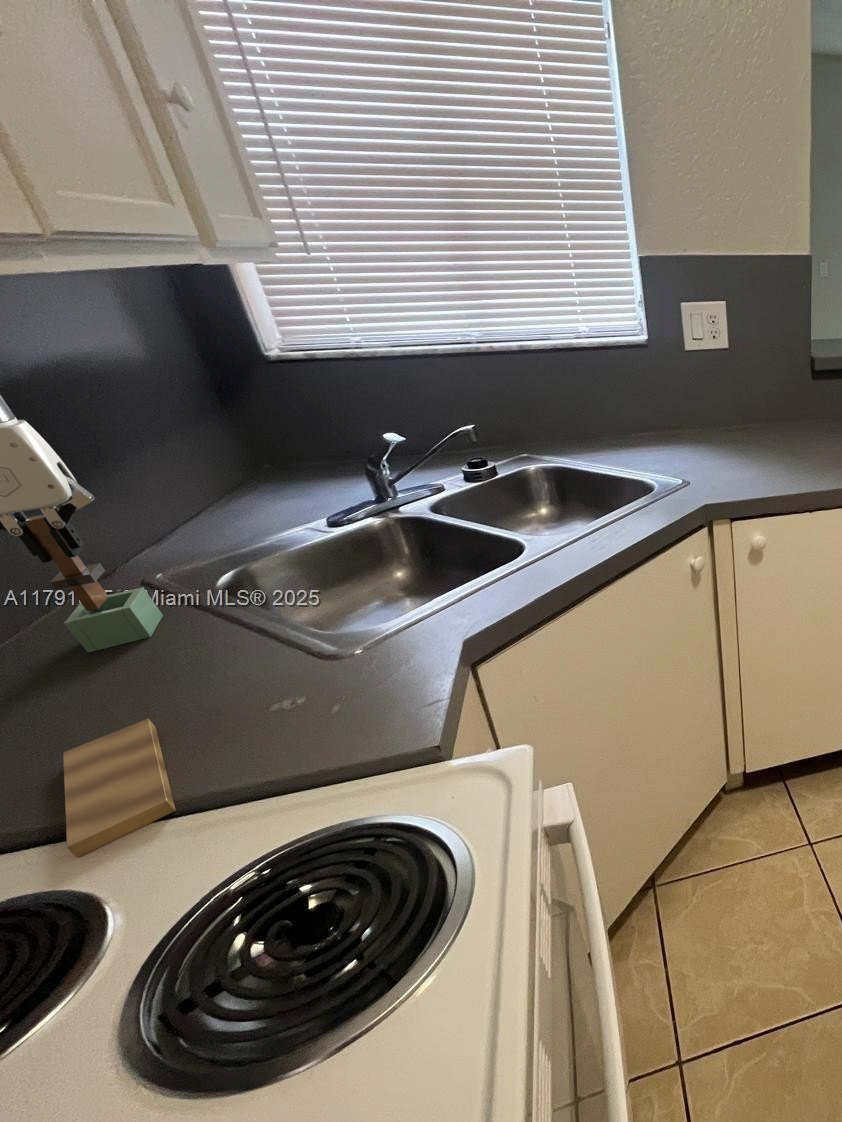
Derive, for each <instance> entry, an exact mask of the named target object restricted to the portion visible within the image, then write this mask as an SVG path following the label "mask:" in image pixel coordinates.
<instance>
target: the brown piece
mask: <svg viewBox="0 0 842 1122" xmlns="http://www.w3.org/2000/svg"><path fill="white" fill-rule="evenodd" d="M27 518H28V519H27V520H26V521H24V522H25V523H26V525H27V526H28V528H29V529H30V530H31V532H32V533H33V534H34V535H35V537H36V538H37V539H38V541H39V542H40V544H41V545H42V546H43V548H44V549H45V550H46V552H47V553H48V555H49V556H50V557H51V559H52V560H51V561H52V562H53V563H54V565H55V567H56V568H57V569H58V570H59V572H58V573H57V574H56V576H54V577H53V579H52V580H50V581H49V584H50V585H51V587H52V588H53V589H54V590H55V591H58V590H63V589H68V588H69V589H70V590H71V592H72V593H73V594H74V595H75V597H76V599H77V600H78V601H79V603H81V604H82V605H83V606H84V608H85V609H86V611H92V610H96V609H99V608H100V606H101V605H102V604H103V603H104V601H105V600H106V599H107V598H108V596H107V595H108V593H106V591H105V590H104V588H103V587H102V585H101V584H100V583H99V581H98V580H99V578H101V576H102V575H103V574H104V572H106V569H105V568H104V567H103V565H102V564H101V562H99V563H93V564H89V565H85V564H84V562H83V561H82V559H81V558H80V557H79V554H78V555H77V556H76V557H72V558H70V557H67V556H66V555H65V553H64V552H63V550H62V549H61V548H60V546H59V545H58V543H57V542H56V541H55V539H54V538H53V536H52V535H51V534H50V531H51V530H52V529H53V528H52V527H51V526H50V523H49V521H48V520H47V519H46V517H45V516H44V514H40V515H35V516H29V517H27Z"/></svg>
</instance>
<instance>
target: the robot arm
mask: <svg viewBox="0 0 842 1122" xmlns="http://www.w3.org/2000/svg"><path fill="white" fill-rule="evenodd" d="M70 498H72V499H70ZM95 498H96V497H95V495H94V494H92V493H91V492H89V491H88V490H87V489H85V488H84V487H83V486H81V485H80V484H79V483H78V481H77V479H76V478H75V477H74V475H73V473H72V472H71V471H70V470H69V468H68V467H67V465H66V464H65V463H64V461H63V460H62V458H61V457H60V456H59V455H58V454H57V453H56V451H55V450H54V449H53V447H52V446H51V445H50V444H49V443H48V442H47V441H46V440H45V439H44V438H43V437H42V436H41V434H40V433H39V432H38V431H37V430H36V429H34V427H32V425H30V423H28V422H27V421H26V420H25V419H17V417H16V416H15V414H14V413H13V411H12V410H11V408H10V407H9V406H8V404H7V402H6V401H5V399H4V398H3V396H2V395H1V394H0V530H3V531H5V532H8V533H9V534H10V535H11V536H14V537H19V539H20V540H21V541H22V543H23V544H24V546H25V547H26V548H27V550H28V551H29V552H30V554H31V555H32V556H33V557H38V559H39V561H41V563H44V564H45V563H50V562H51V561H52V559H51V557H50V556H49V555H48V553H47V552H46V550H45V549H44V548H43V546H42V545H41V544H40V542H39V541H38V539H37V538H36V537H35V535H34V534H33V533H32V532H31V530H30V529H29V528H28V526H27V525H26V523H25V522H24V521H26V520H27V519H28V518H29V517H27V515H26V514H25V513H24V512H27V511H33V510H38V509H39V510H40V511H41V512H42V515H44V516H45V517H46V519H47V520H48V521H49V523H50V526H51V527H52V528H53V529H52V530H51V531H50V534H51V535H52V536H53V538H54V539H55V541H56V542H57V543H58V545H59V546H60V548H61V549H62V550H63V552H64V553H65V555H66V556H67V557H70V558H72V557H76V556H77V555H78V556H79V555H80V553H81V552H82V551H83V550H84V545H85V544H84V541H83V539H82V538H81V536H80V534H79V533H78V532H77V530H76V529H75V528H74V526H73V525H72V523H71V521H72V520H73V517H74V516H75V514H76V513H77V512H78V511H79V510H81V509H82V508H84V507H86V506H88V505H90V504H91V503H92V502H93V501H94V500H95Z"/></svg>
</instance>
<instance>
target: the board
mask: <svg viewBox="0 0 842 1122" xmlns="http://www.w3.org/2000/svg"><path fill="white" fill-rule="evenodd" d="M62 755H63V757H62V758H63V759H62V760H63V780H64V781H63V783H64V805H65V807H64V808H65V832H66V848H67V849H68V850H69V851H70V852H71V853H72V855H74V856H75V857H76V858H80V857H82V856H84V855H86V854H89V853H90V852H93V851H95V850H97V849H99V848H101V847H103V846H105V845H107V844H110V843H112V842H114V841H116V840H118V839H120V838H122V837H124V836H126V835H128V834H130V833H132V832H134V831H136V830H138V829H141V828H144V827H145V826H147V825H149V824H151V823H154V822H156V821H158V820H160V819H162V818H164V817H166V816H168V815H170V814H172V813H175V812H176V806H175V803H174V802H175V801H174V798H173V793H172V789H171V785H170V781H169V777H168V772H167V769H166V765H165V760H164V756H163V752H162V747H161V743H160V740H159V735H158V731H157V727H156V726H155V725H154V723H153V722H152V721H151V720H150V718H146V719H143V720H141V721H138V722H136V723H133V724H131V725H128V726H126V727H123V728H121V729H118V730H116V731H113V732H111V733H107V734H106V735H103V736H100V737H98V738H96V739H93V740H91V741H88V742H86V743H83V744H81V745H79V746H76V747H73V748H71V749H68V750H66V751H63V753H62Z"/></svg>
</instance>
